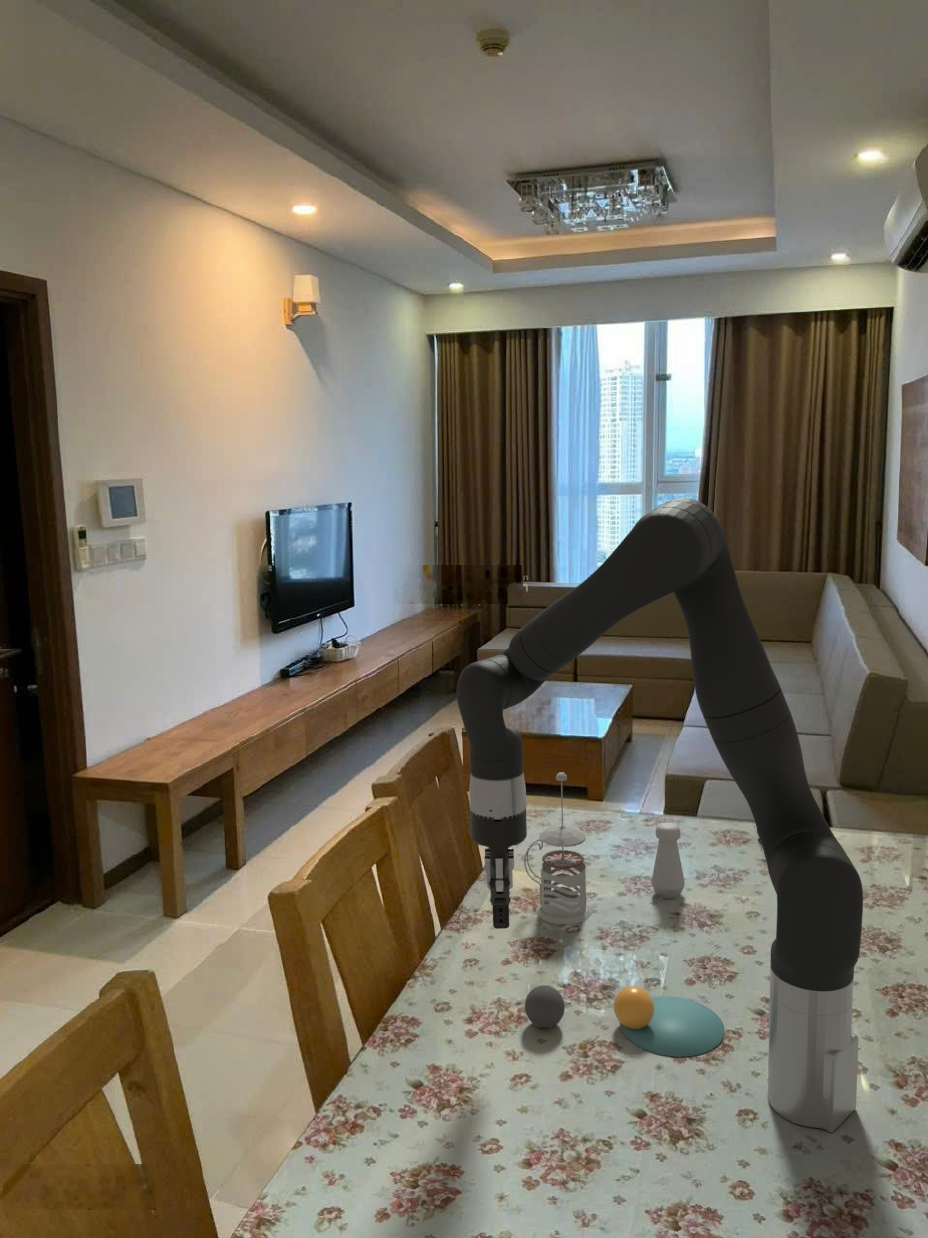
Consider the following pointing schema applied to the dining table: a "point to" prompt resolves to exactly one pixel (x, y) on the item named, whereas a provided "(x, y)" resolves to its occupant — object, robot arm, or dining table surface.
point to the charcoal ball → (544, 1006)
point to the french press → (561, 874)
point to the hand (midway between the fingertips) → (501, 926)
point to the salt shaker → (668, 863)
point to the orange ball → (634, 1007)
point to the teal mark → (678, 1028)
